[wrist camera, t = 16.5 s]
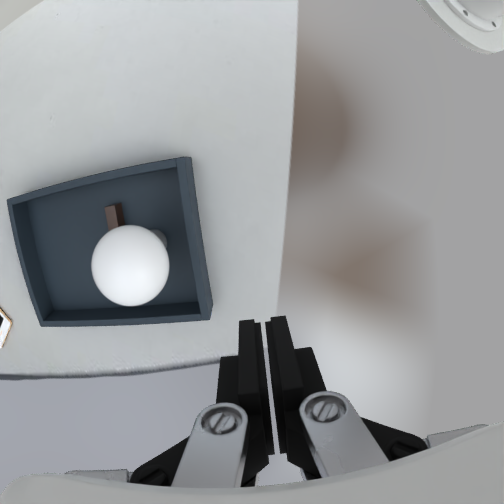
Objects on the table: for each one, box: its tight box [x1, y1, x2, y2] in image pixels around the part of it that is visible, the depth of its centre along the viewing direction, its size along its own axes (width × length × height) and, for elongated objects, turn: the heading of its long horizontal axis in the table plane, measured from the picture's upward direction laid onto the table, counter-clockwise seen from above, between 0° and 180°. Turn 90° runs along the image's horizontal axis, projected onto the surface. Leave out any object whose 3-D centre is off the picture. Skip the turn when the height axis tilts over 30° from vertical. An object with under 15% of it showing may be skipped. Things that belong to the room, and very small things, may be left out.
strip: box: [104, 203, 125, 231], centre depth 30 cm, size 1×9×2 cm, turn 6°
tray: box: [7, 157, 213, 327], centre depth 29 cm, size 22×16×4 cm
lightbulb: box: [91, 225, 169, 306], centre depth 25 cm, size 6×6×11 cm
